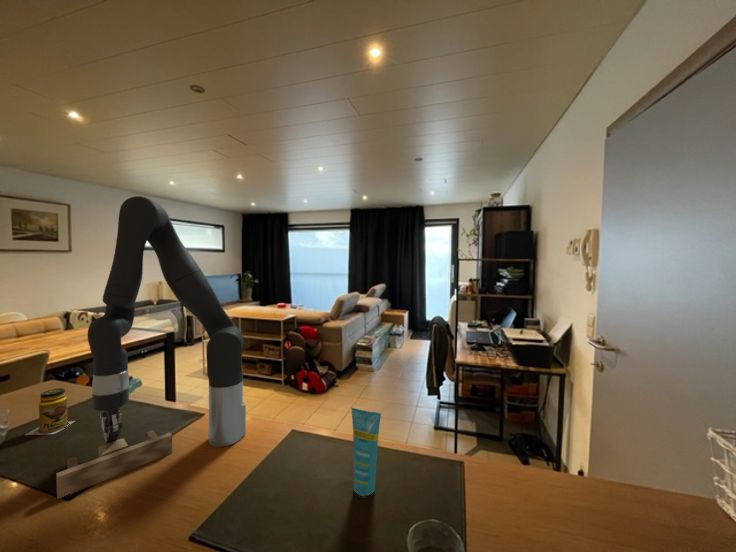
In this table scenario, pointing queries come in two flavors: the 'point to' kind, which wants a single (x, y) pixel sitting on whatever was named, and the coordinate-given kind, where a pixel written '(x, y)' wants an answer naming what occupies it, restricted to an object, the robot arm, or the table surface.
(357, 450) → the tube
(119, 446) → the block
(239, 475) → the table surface
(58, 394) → the condiment
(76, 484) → the wooden plank
